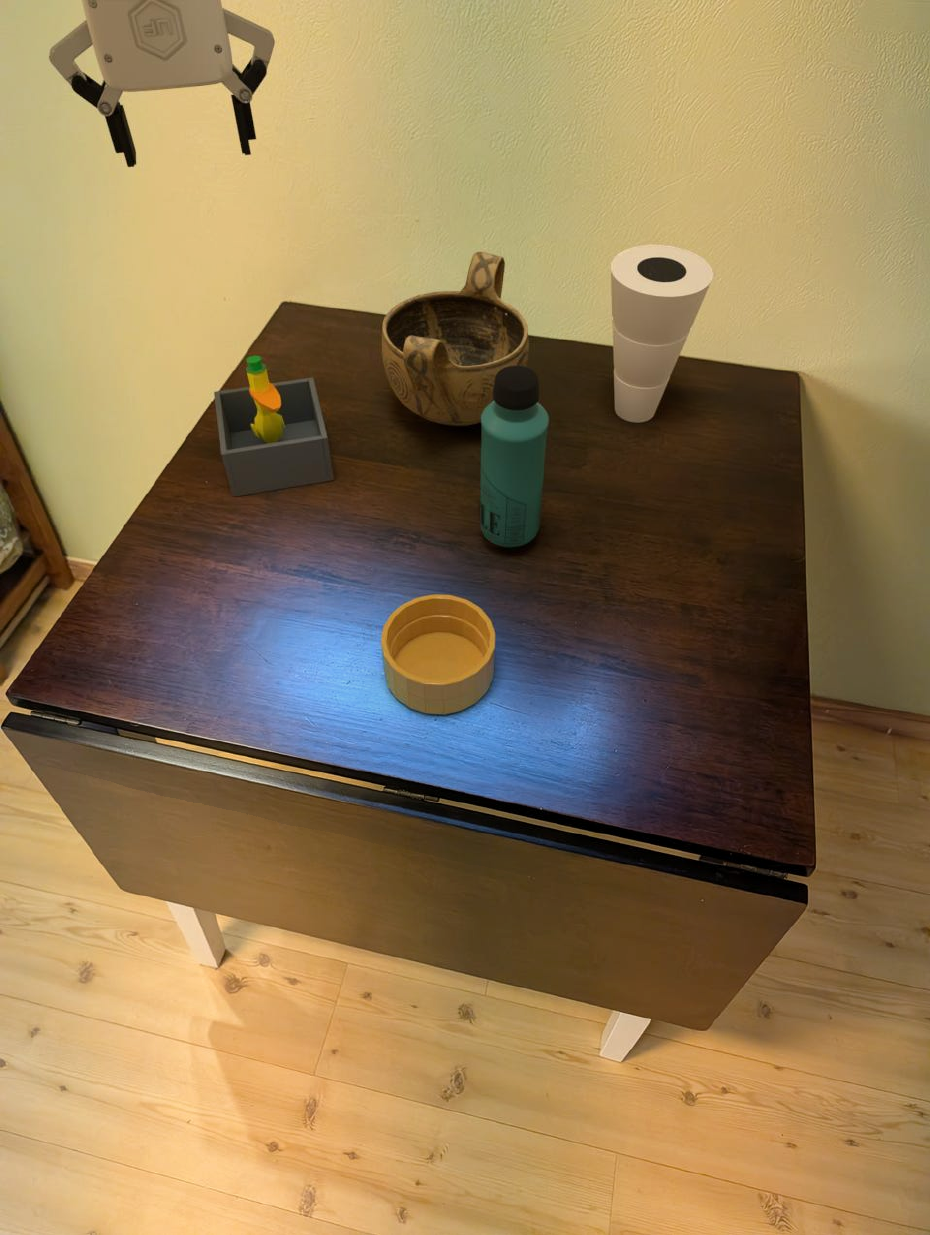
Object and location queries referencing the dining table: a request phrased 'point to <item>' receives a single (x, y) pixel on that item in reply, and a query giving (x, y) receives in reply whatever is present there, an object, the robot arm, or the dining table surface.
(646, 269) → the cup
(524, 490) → the beverage bottle
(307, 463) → the grey bin
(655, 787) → the dining table surface
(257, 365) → the toy figure
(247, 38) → the robot arm
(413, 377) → the ceramic bowl
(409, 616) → the mustard bowl
